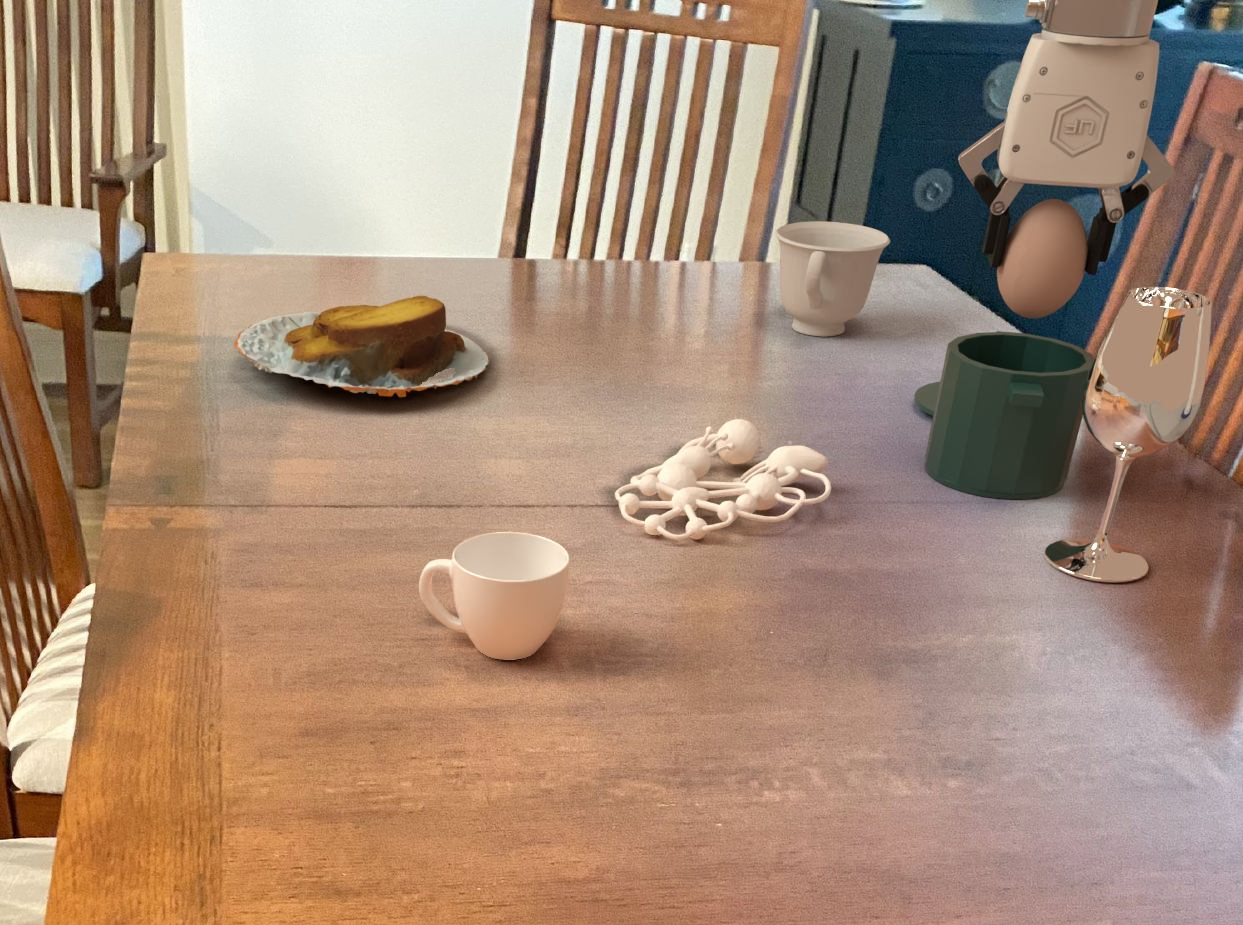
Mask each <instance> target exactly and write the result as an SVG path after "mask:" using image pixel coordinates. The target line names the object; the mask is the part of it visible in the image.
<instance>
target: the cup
mask: <svg viewBox="0 0 1243 925" xmlns="http://www.w3.org/2000/svg"><path fill="white" fill-rule="evenodd" d="M570 564H571V558H570V554H569V552H568V551H567V550H566V548H565V547H564V546H562V544H560V543H558V542H557V541H554V540H553V539H550V538H548V537H544V536H541V535H537V534H534V533H527V532H520V531H519V532H517V531H496V532H488V533H483V534H478V535H474V536H471V537H468V538H467V539H464V540H463V541H461V542H460V543H458V544H457V545H456V546H455V547H454V549H453V550H452V553H451V558H436V559H433V560H431V561H428V562H427V563H426V564H425V565H424V567H423V569H422V571H421V572H420V577H419V581H418V593H419V597H420V599H421V601H422V603H423V605H424V606H425V608H426V609H427V610H428V612H429V614H431V615H432V616H433V617H434V618H435V619H436V620H437V621H438V622H439V623H441V624H442V625H444V626H445V627H447V628H448V629H450V630H452V631H454V632H460V633H464V634H466V635H467V637H468V638H469V640H470V641H471V643H472V644H473V645H474V647H475V648H476V650H478V652H479V651H480V652H481V653H480V652H479V653H480V654H482V653H483V654H485V655H487V656H490V657H493V658H498V659H520V658H524V657H527V656H529V655H531V654H533V655H534V654H535V653H536V652H537V651H539V650H540V648H541V647H542V646H543V645H544V643H545V642H546V641H547V640H548V638H549V637H550V635H552V632H553V630H554V629H555V627H556V625H557V624H558V621H559V619H560V617H561V615H562V613H563V609H564V606H565V602H566V598H567V594H568V588H569V579H570V578H569V577H570ZM437 573H440V574H441V573H442V574H446V575H448V576H449V578H450V582H451V588H452V596H453V597H452V598H453V601H454V602H453V603H454V606H455V611H456V613H457V616H458V617H457V616H455V615H453V614H452V613H450V611H449V610H447V609H446V608H445V607H444V606H443V605H442V603H441V602H440V601H439V599H438V598H437V597H436V595H435V593H434V590H433V586H432V585H433V578H434V575H435V574H437ZM483 654H482V655H483ZM485 655H484V656H485Z"/></svg>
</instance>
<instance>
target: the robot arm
mask: <svg viewBox="0 0 1243 925" xmlns="http://www.w3.org/2000/svg"><path fill="white" fill-rule="evenodd" d="M1026 1H1027V2H1026V5H1025V11H1024V17H1025V18H1034V20H1038V21H1039V23H1040V24H1041V27H1042V28H1041V32H1039V33H1038V32H1037V33H1033V34H1032V35H1031V37H1030V39H1029V42H1028V44H1027V46H1026V49H1025V51H1024V54H1023V57H1022V60H1021V62H1020V66H1019V68H1018V72H1017V75H1016V78H1015V80H1014V84H1013V86H1012V90H1011V95H1010V97H1009V102H1008V105H1007V109H1006V112H1005V116H1004V121H1003V122H1001V123H999V125H997V126H995V127H994V128H993V129H991V130H990V131H989V132H987V133H986V134H985V135H984V136H982V137H981V138H979V139H978V140H977V141H976V142H974V143H972V144H971V145H970V146H969V147H967V148H966V149H965V150H963V151H962V152H960V153H959V155H958V158H957V160H958V164H959V166H960V168H961V169H962V171H963V172H964V174H965V176H966V177H967V179H968V180H969V181H970V183H971V185H972V186H973V188H974V190H975V191H976V192H977V195H978V196H980V198H981V199H982V201H983V202H984V203H985V205H986V206H987V208H988V209H989V216H988V221H987V225H986V229H985V230H986V231H985V234H984V240H983V245H982V254H983V255H988V263H989V266H990V268H992V269H997V268H998V266H999V267H1000V266H1001V263H1002V258H1003V253H1004V249H1005V244H1006V240H1007V237H1008V235H1009V230H1010V225H1011V220H1012V217H1011V214H1010V208H1011V207H1010V205H1011V204H1012V202H1013V201H1014V199H1015V198H1016V196H1017V195H1018V193H1020V191H1021V189H1022V188H1023V186H1025V184H1033V185H1046V186H1061V187H1079V188H1095V189H1098V194H1099V198H1100V199H1099V200H1100V202H1101V207H1099V210H1098V213H1096V214H1095V215H1094V216H1093V217H1092V222H1091V225H1090V229H1089V234H1088V237H1087V243H1088V256H1087V263H1086V268H1085V273H1086V274H1087V275H1088V276H1089V275H1090V276H1096V275H1097V272H1098V269H1099V264H1100V263H1106V262H1108V258H1109V254H1110V251H1111V246H1112V243H1113V239H1114V236H1115V231H1116V226H1117V224H1118V223H1119V222H1121V221H1122V220H1123V218H1124V216H1126V215H1127V214H1129V213H1130V212H1132V210H1134V209H1135V208H1137V207H1138V206H1139V205H1141V204H1142V203H1143V202H1144V201H1146V200H1147V199H1148V197H1150V195H1151V194H1153V193H1155V192H1156V191H1158V190H1159V189H1160V188H1161V187H1162V186H1163V185H1165V184H1166V183H1167V182H1169V181H1170V180H1171V179H1172V178H1173V177H1174V175H1175V169H1174V167H1173V166H1172V164H1171V163H1170V161H1168V159H1167V158H1166V157H1165V155H1164V154H1163V153H1162V152H1161V150H1160V149H1159V148H1158V146H1157V145H1156V144H1155V143H1154V141H1153V140H1152V139H1151V137H1150V136H1149V135H1148V130H1149V124H1150V120H1151V115H1152V110H1153V103H1154V99H1155V98H1154V97H1155V92H1156V84H1157V79H1158V78H1157V77H1158V70H1159V60H1160V43H1159V42H1158V41H1156V40H1153V39H1151V38H1150V36H1151V30H1152V26H1153V22H1154V18H1155V14H1156V10H1157V7H1158V2H1159V0H1026ZM995 151H997V152H996V153H997V154H996V161H997V164H998V168H999V171H1000V172H1001V175H1003V176H1002V177H1001V179H1000V180H999V182H998V183H997V184H995V183H994V181H993V180H992V179H991V177H990V176H989V175H988V173H987V172H986V170H985V169H984V167H983V165H982V163H983V161H984V160H985V159H986V158H987V157H989V156H990V155H992V153H994V152H995ZM1142 160H1143V162H1144V163H1145V165H1146V166H1147V172H1146V173H1145V174H1144V175H1143V176H1142V177H1141V178H1139V179H1138V181H1136V182H1134V180H1135V178H1136V177H1137V175H1138V172H1139V169H1140V166H1141V162H1142ZM1132 182H1133V183H1132ZM1131 183H1132V184H1131ZM1129 184H1131V185H1129ZM1127 185H1129V186H1128V187H1126V188H1125V189H1124V190H1122V191H1121V190H1120V187H1124V186H1127Z"/></svg>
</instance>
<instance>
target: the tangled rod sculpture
mask: <svg viewBox="0 0 1243 925" xmlns="http://www.w3.org/2000/svg"><path fill="white" fill-rule="evenodd" d="M760 444H761V436H760V432H759V430H758V428H757V427H756V426H755V425H754V424H753V423H752V422H751V421H749V420H746V419H744V418H743V419H742V418H736V419H730V420H729V421H726V422H725V423H724V424H723V425H722V426H721V427H720V428H719V429H718V431H717V433H714V428H713V426H707V427H706V428H705V433H704V436H700V437H697V438H695V439H691V440H690V441H688V442H687V443H685V444H683V445H682V447H680V448H679V450H678V451H677V453H676V454H674V455H672V456H671V457H668V459H666V460H665V461H664V462H663V463H662V464H660V465H657V466H654V467H651V468H648V469H646V470H645V471H644V472H642V473H640V474H636V475H633V476H632V477H631V479H630V483H628V484H625V485H622V486H620V487H619V488H618V489H616V491H615V492H614V498H615V500H616V501H617V502H618V508H619V510H620V514H621V516H622V517H623V519H624V520H625V521H627V522H629V523H630V524H633V525H635V526H639V527H643V529H644V532H645V533H646V534H647V533H648V534H650V535H658V536H660V535H662V536H664V537H665V538H667V539H670V540H674V541H681V540H682V541H683V540H686V539H689V538H690V539H691V540H696V541H697V540H701V539H704V537H705V536H706V535H707V533H708V532H709V531H714V530H715V531H716V530H720V529H723V528H726V527H728V526H730V525H731V524H732V523H733V522H734V521H736V520H737V519H738V517H740V518H743V519H747V520H750V521H755V522H759V523H781V522H784V521H786V520H788V519H790V518H791V517H792V516H793V515H795V513H797V512H798V511H799V510H800V508H802V507H803V506H808V505H816V504H820V503H822V502H825V500H826V499H828V497H829V496H830V495H831V493H832V484H831V483H832V482H831V481H830V480H829V478H828V477H827V476H826V475H825V474H823V473H822V472H824V471H825V470H826V469H828V466H829V461H828V458H827V457H826V456H825V455H823V454H821V453H820V452H818V451H816V450H815V449H813V448H811V447H809V446H806V445H798V444H797V445H783V446H780V447H777V448H775V449H774V450H773V451H772V452H771V453H770V454H769V456H768V457H767V458H766V459H764V460H762V461H761V462H759V463H756V464H755V465H754V466H752V467H751V468H749V469H748V470H747V471H745V472H744V473H743V474H742V475H741V476H740V477H737V476H736V477H734V478H733V479H732V482H731V481H711V480H698V479H701V478H702V477H704V476H705V475H707V473H708V472H709V471H710V469H711V466H712V462H713V461H712V457H713V456H715V455H717V454H718V456H719V457H720V458H721V459H722V460H724V461H725V462H727V463H728V464H732V465H741V464H745V463H747V462H750V460H752V459H753V458H754V457H755V456H756V454H758V451H759V449H760ZM705 445H706V446H705ZM714 445H715V449H714V450H713V451H711V452H710V451H709V450H710V449H711V448H712V447H713V446H714ZM808 477H809V478H812V479H816V480H820V481H822V482H823V484H824V487H825V488H824V489H825V491H824V492H823V494H821V495H818V496H817V497H814V498H807V495H806V492H804V490H802V489H801V488H798V487H790V486H789V485H792V484H794V483H797V482H798V481H799V482H800V481H801V480H803V479H805V478H808ZM634 489H638V490H639V491H640V492H641V494H643V495H644V496H645V497H652V496H655V495H656V494H657V495H658V497H659V498H660V499H661V500H640V499H639V497H638V495H636V494H635V493H631V492H627V493H625V494H623V495H621V494H622V493H624V492H626V491H629V490H634ZM708 489H714V490H708ZM715 489H716V490H715ZM782 493H783V494H794V495H798V496H799V499H792V498H789V497H785V496H783V495H782ZM735 496H738V497H737V499H736V500H735V501H732V500H725V501H722V502H721V503H719V504H718V503H714V502H710V501H708V500H709V499H717V498H725V497H726V498H727V497H735ZM778 503H782V504H786V505H787V506H788V505H789V506H792V507H791V508H789V510H788V511H786V512H785V513H784V514H781V515H777V516H765V515H760V514H755V511H756V510H757V511H767V510H771V509H772V508H773V507H775V506H776V505H777V504H778ZM698 508H700V509H703V510H707V511H711V512H715V513H716V515H717V517H718V519H719V520H720V521H721V522H718V523H714V524H708V523H707V522H706V521H705V520H704V519H703V518H701V517H697V515H696V512H695V511H696V510H697V509H698ZM640 509H670V510H668V511H666V512H664V513H662V514H657V513H656V514H650V515H649V516H648V517H646V518H645V520H641V519H637V518H635V517H632V515H634V514H636V513H637V512H639V510H640ZM630 515H631V516H630ZM677 516H682V517H684V516H687V518H688V521H687V522H686V524H685V533H682V534H674V533H672V532H669V531H667V530H666V524H667V523H666V522H668V521H670V520H672V519H673V518H676V517H677ZM648 534H647V535H648ZM650 535H649V536H650Z"/></svg>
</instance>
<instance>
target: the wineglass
mask: <svg viewBox="0 0 1243 925" xmlns="http://www.w3.org/2000/svg"><path fill="white" fill-rule="evenodd" d="M1212 310H1213V301H1212V300H1211V299H1210V298H1209V297H1208V296H1205V295H1202V294H1201V293H1197V292H1194V291H1190V290H1186V289H1180V288H1174V287H1164V286H1142V287H1134V288H1131V289H1130V290H1128V291H1127V292H1126V295H1125V296H1124V298H1123V300H1122V302H1121V304H1120V306H1119V308H1118V310H1117V312H1116V314H1115V316H1114V318H1113V319H1112V321H1111V324H1110V326H1109V328H1108V330H1107V333H1106V334H1105V336H1104V338H1103V341H1102V343H1101V345H1100V347H1099V349H1098V351H1097V353H1096V356H1095V357H1094V359H1095V360H1094V363H1093V365H1092V368H1091V370H1090V373H1089V376H1088V379H1087V382H1086V385H1085V388H1084V393H1083V399H1082V409H1083V417H1082V419H1083V421H1084V423H1085V425H1086V428H1087V430H1088V432H1089V433H1090V434H1091V436H1092V437H1093V438H1094V439H1095V440H1096V442H1097V443H1098V444H1099V445H1100V446H1101V447H1102V448H1104V449H1105V450H1106V451H1107V452H1109V453H1111V454H1112V455H1114V472H1113V477H1112V482H1111V486H1110V490H1109V493H1108V496H1107V501H1106V505H1105V508H1104V511H1103V514H1102V518H1101V523H1100V526H1099V529H1098V532H1097V533H1096V535H1095V537H1094V538H1093V539H1092V538H1067V539H1065V538H1064V539H1060V540H1057V541H1054V542H1052V543H1050V544H1047V546H1046V547H1045V548H1044V551H1043V556H1044V559H1045V560H1046V562H1048V563H1049V564H1050V565H1051V566H1052V567H1053V568H1054V569H1057V570H1059V571H1060V572H1062V573H1065V574H1067V575H1070V576H1073V577H1076V578H1079V579H1083V580H1087V581H1092V582H1100V583H1110V584H1111V583H1112V584H1115V583H1116V584H1117V583H1128V582H1133V581H1137V580H1140V579H1142V578H1144V577H1145V576H1146V575H1148V573H1149V570H1150V567H1149V563H1148V562H1147V560H1146V559H1145V558H1144V557H1143V556H1142V555H1140V554H1139V553H1137V552H1136V551H1134V550H1132V549H1130V548H1128V547H1125V546H1122V545H1120V544H1117V543H1114V542H1113V543H1112V542H1110V530H1111V526H1112V523H1113V518H1114V515H1115V512H1116V508H1117V505H1118V501H1119V498H1120V493H1121V491H1122V487H1123V485H1124V482H1125V479H1126V476H1127V474H1128V471H1129V469H1130V467H1131V465H1132V463H1133V462H1134V460H1136V458H1143V457H1146V456H1149V455H1153V454H1156V453H1158V452H1160V451H1162V450H1164V449H1166V448H1167V447H1170V446H1172V445H1173V444H1174V443H1175V442H1176V441H1178V440H1179V439H1180V438H1181V437H1182V436H1184V435H1185V434H1186V433H1187V431H1188V430H1189V429H1190V427H1191V426H1192V424H1193V423H1194V421H1195V420H1196V417H1197V414H1198V412H1199V409H1200V406H1201V403H1202V398H1203V395H1204V389H1205V385H1206V379H1207V374H1208V364H1209V363H1208V362H1209V353H1210V342H1211V330H1212V329H1211V328H1212V326H1211V325H1212Z"/></svg>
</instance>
